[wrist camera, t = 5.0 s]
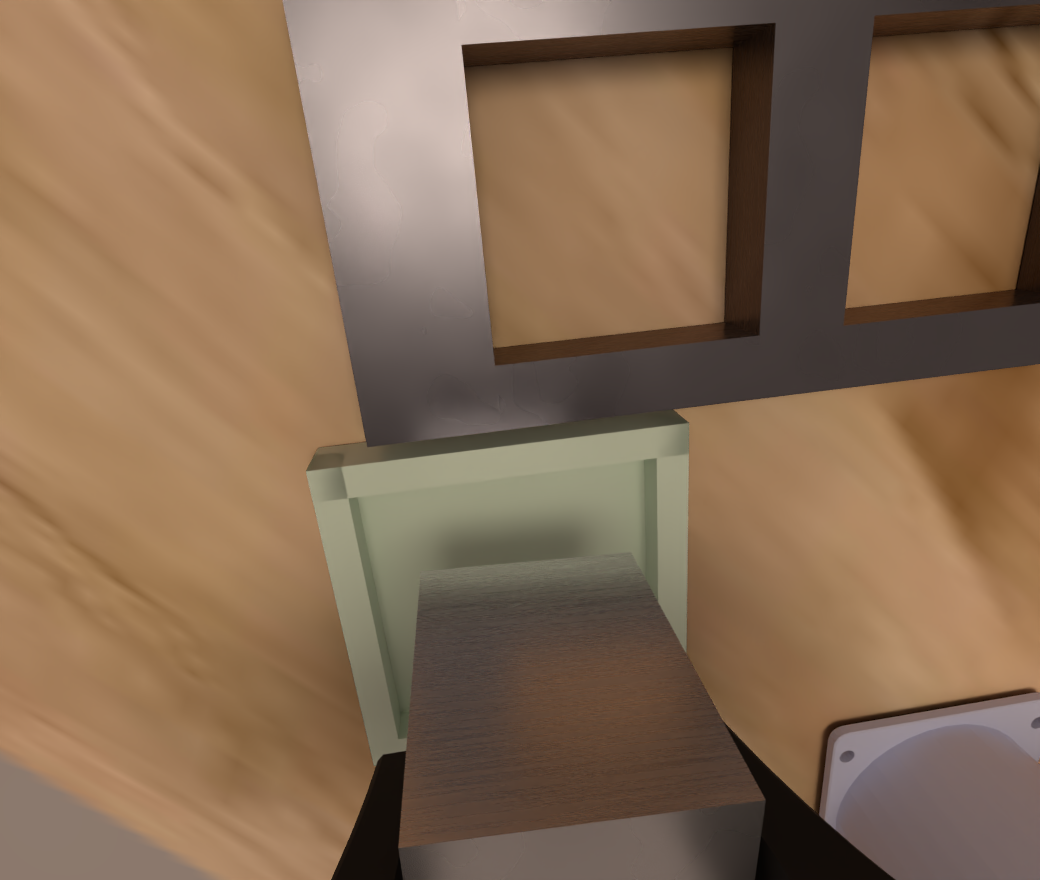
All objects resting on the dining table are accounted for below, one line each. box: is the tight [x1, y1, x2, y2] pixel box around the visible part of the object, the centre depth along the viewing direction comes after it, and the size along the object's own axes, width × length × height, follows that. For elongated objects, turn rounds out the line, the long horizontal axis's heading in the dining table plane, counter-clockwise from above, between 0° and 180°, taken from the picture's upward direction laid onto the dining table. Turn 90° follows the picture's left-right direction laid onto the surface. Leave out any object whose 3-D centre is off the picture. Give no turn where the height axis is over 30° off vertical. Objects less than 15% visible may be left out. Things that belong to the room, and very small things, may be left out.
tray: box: [306, 409, 689, 766], centre depth 17 cm, size 9×9×2 cm
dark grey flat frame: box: [283, 0, 1040, 447], centre depth 14 cm, size 20×9×2 cm, turn 95°
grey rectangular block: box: [398, 552, 766, 880], centre depth 11 cm, size 4×4×6 cm
